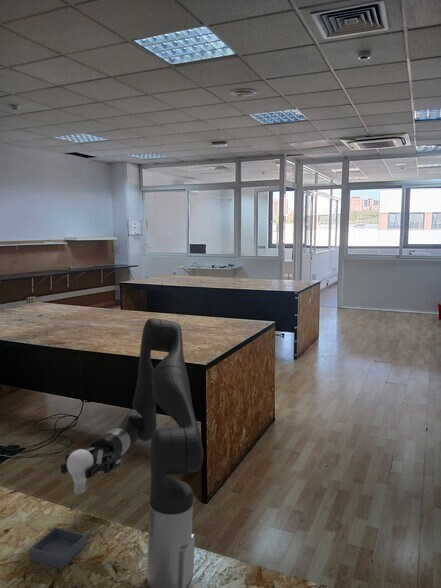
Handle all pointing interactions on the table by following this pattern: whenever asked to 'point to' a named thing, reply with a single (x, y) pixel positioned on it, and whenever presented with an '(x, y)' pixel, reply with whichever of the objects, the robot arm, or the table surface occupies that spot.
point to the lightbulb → (79, 468)
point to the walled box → (58, 547)
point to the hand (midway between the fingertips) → (74, 472)
